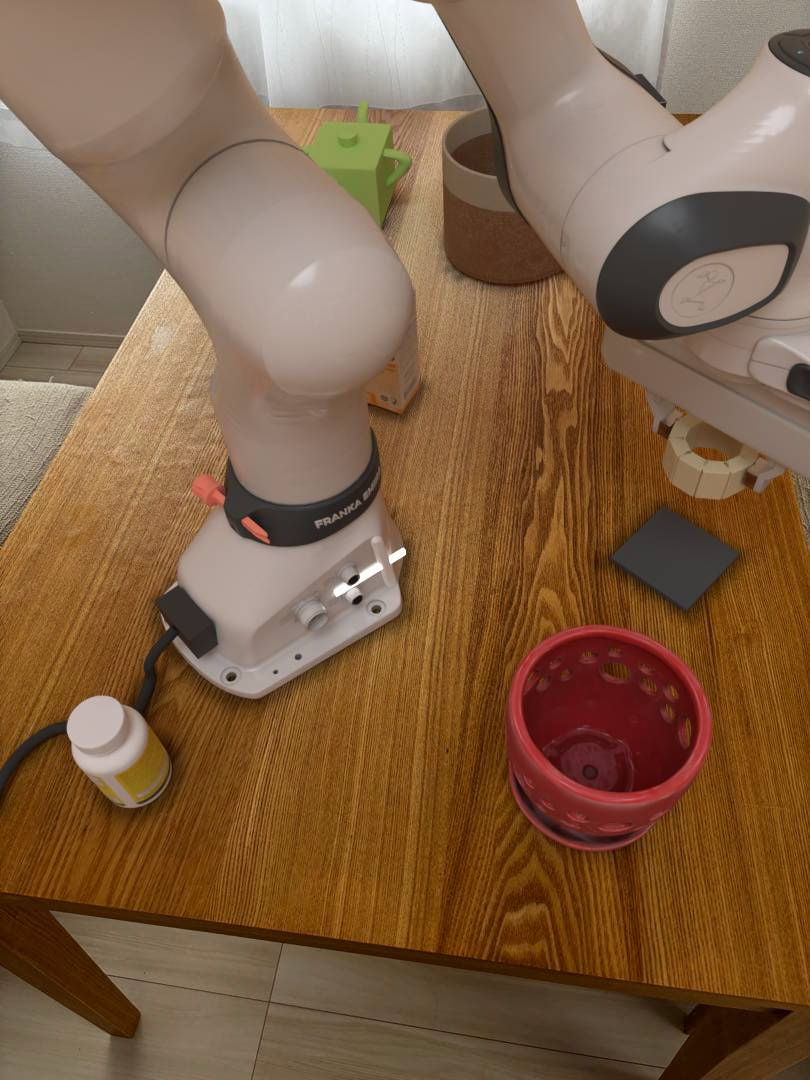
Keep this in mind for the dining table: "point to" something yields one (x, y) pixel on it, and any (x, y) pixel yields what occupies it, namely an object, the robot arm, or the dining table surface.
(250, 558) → the robot arm
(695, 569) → the mat
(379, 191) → the teapot
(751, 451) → the tape roll
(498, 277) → the planter
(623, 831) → the flower pot
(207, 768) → the dining table surface
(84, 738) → the supplement bottle
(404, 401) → the supplement box
